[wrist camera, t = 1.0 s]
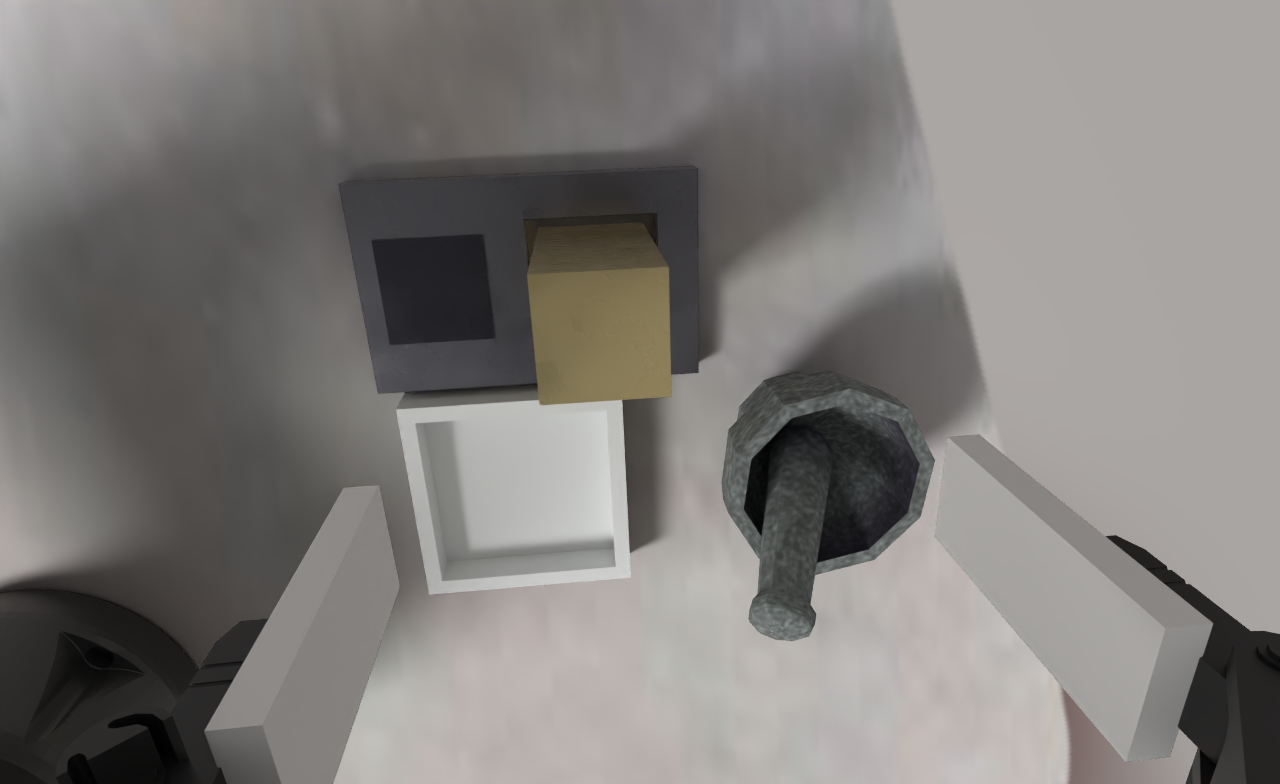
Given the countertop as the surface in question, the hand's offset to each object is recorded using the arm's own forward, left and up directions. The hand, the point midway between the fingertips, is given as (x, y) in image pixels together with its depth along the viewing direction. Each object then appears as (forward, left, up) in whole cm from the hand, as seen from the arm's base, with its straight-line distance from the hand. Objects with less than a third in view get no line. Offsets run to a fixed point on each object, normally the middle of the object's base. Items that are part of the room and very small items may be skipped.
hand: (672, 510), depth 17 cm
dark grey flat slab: (-4, +1, -21) cm, 21 cm away
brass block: (-1, +1, -21) cm, 21 cm away
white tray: (-6, -10, -21) cm, 24 cm away
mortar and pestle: (+9, -9, -21) cm, 24 cm away
